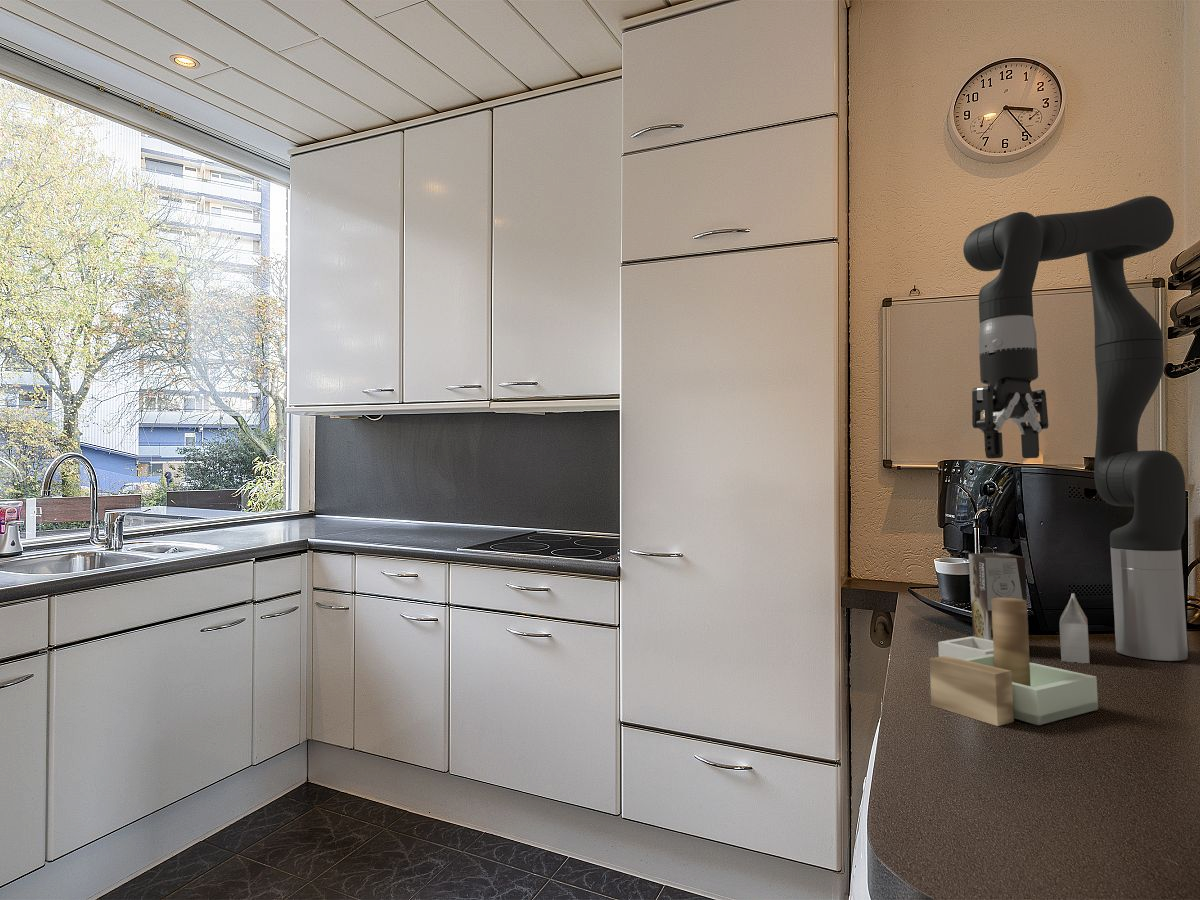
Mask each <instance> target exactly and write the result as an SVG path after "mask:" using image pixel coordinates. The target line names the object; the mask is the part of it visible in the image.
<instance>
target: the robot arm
mask: <svg viewBox="0 0 1200 900" xmlns="http://www.w3.org/2000/svg"><path fill="white" fill-rule="evenodd" d="M1173 215H1174V214H1173V212H1172V209H1171V208H1170V206H1169V205H1168V203H1167V202H1166V201H1165V200H1164V199H1162V198H1160V197H1158V196H1156V195H1155V196H1153V195H1144V196H1139V197H1138V196H1137V197H1135V198H1132V199H1128V200H1126V201H1124V202H1121V203H1119V204H1115V205H1113V206H1109V207H1105V208H1101V209H1092V210H1085V211H1077V212H1076V211H1075V212H1074V211H1072V212H1066V213H1065V212H1063V213H1053V214H1052V213H1051V214H1042V215H1036V216H1034V215H1033V214H1032V213H1029V212H1027V211H1018V212H1013V213H1010V214H1008V215H1006V216H1002V217H1001V218H998V219H995V220H994V221H991V222H989V223H985V224H984V225H980V226H978V227H976V228H974V230H973V231H971V232H970V233H969V234H968V236H967V237H966V238H965V241H964V243H963V256H964V259H965V261H966V262H967V264H968V265H969V266H971V267H972V268H974V269H975V270H977V271H979V272H980V271H981V272H994V271H999V273H998V275H997V276H995V278H993V279H992V280H991V281H990V282H989V281H988V282H987V283H986V284H985V285H983V286H982V287H981V288H980V290H979V291H978V292H979V293H978V313H979V314H978V317H979V318H978V319H979V331H978V352H979V354H978V355H979V376H980V380H979V381H980V383H982V384H984V385H985V386H978V387H974V388H972V391H971V396H972V397H971V403H972V405H971V409H972V410H971V411H972V412H971V416H972V417H971V418H972V419H971V424H972V427H973V428H974V429H979V430H980V432H981V433H983V436H984V437H983V438H984V452H985V458H987V459H1002V458H1003V456H1004V446H1003V432H1001V431H1002V429H1003V426H1004V424H1005V422H1006V421H1007V420H1009V419H1011V421H1012V422H1013V423H1014V424H1016V425H1017V426H1018V428H1019V431H1020V433H1021V434H1020V438H1021V439H1020V440H1021V456H1022V458H1023V459H1037V458H1039V457H1040V439H1039V434H1040V433H1041V432H1042V431H1043V430H1044V429H1048V428H1049V417H1048V403H1047V393H1046V390H1045V389H1039V390H1032V387H1031V382H1033V381H1035V380H1037V379H1038V377H1039V363H1038V344H1037V331H1036V325H1035V321H1034V308H1033V307H1034V306H1033V304H1034V303H1033V287H1034V284H1035V280H1036V276H1037V271H1038V268H1039V264H1040V262H1046V261H1047V262H1048V261H1056V260H1062V259H1066V258H1072V257H1075V256H1079V255H1083V254H1085V256H1086V261H1087V268H1088V274H1089V280H1090V288H1091V295H1092V305H1093V306H1092V307H1093V321H1094V322H1093V323H1094V360H1095V361H1094V362H1095V363H1094V364H1095V365H1094V366H1095V375H1096V387H1097V388H1096V389H1097V391H1096V394H1097V395H1096V397H1097V398H1096V400H1097V406H1096V409H1097V410H1096V411H1097V413H1096V414H1097V424H1096V440H1095V441H1096V442H1095V451H1094V452H1095V453H1094V463H1093V465H1094V469H1093V473H1094V474H1093V476H1094V477H1093V478H1094V483H1095V488H1096V490H1097V494H1098V495H1099V496H1100V498H1101V499H1102V501H1105V503H1107V504H1108V505H1111V506H1115V507H1133V509H1134V510H1133V515H1132V516H1133V517H1132V518H1131V520H1130V521H1129V522H1128V523H1127V524H1125V525H1123V526H1120V527H1116V528H1115V529H1113V530H1111V532H1110V534H1109V546H1110V547H1109V548H1110V558H1111V559H1110V561H1111V562H1110V565H1111V579H1112V580H1111V582H1112V595H1113V597H1112V598H1113V600H1112V601H1113V615H1114V634H1115V635H1114V637H1115V651H1116V652H1117V653H1119V654H1122V655H1124V656H1127V657H1132V658H1136V659H1137V658H1138V659H1144V660H1153V661H1166V662H1167V661H1168V662H1172V661H1173V662H1174V661H1175V662H1177V661H1184V660H1188V657H1189V656H1188V652H1189V651H1188V650H1189V649H1188V637H1187V619H1186V606H1185V605H1186V603H1185V589H1184V587H1185V586H1184V574H1183V558H1182V557H1183V555H1182V538H1183V535H1184V533H1185V528H1186V493H1187V491H1186V489H1187V488H1186V479H1185V478H1186V477H1185V472H1184V469H1183V465H1182V464H1181V462H1180V461H1179V460H1178V458H1177V457H1176V456H1175V455H1173V454H1172V453H1170V451H1169V452H1168V451H1166V450H1158V449H1157V450H1156V449H1155V450H1150V449H1149V450H1138V449H1139V448H1138V445H1139V444H1138V435H1139V432H1138V431H1139V425H1140V422H1141V421H1140V420H1141V418H1142V415H1143V413H1144V411H1145V409H1146V407H1147V406H1148V404H1149V402H1150V401H1151V399H1152V396H1153V395H1154V393H1155V392H1156V390H1157V388H1158V385H1159V384H1160V382H1161V379H1162V376H1163V373H1164V368H1165V366H1164V365H1165V362H1164V360H1165V359H1164V358H1165V357H1164V356H1165V355H1164V340H1163V339H1164V338H1163V332H1162V329H1161V327H1160V326H1159V323H1158V322H1157V320H1156V319H1155V317H1153V315H1152V314H1151V313H1150V312H1149V311H1148V310H1147V309H1146V308H1145V307H1144V305H1142V304H1141V303H1140V302H1139V300H1138V299H1137V298H1136V297H1135V296H1134V295H1133V293H1132V292H1131V290H1130V289H1129V287H1128V284H1127V280H1126V276H1125V268H1124V260H1126V259H1129V258H1133V257H1136V256H1140V255H1142V254H1146V253H1150V252H1152V251H1155V250H1157V249H1159V248H1161V247H1163V246H1164V245H1165V244H1167V242H1168V241H1169V240H1170V238H1171V237H1172V235H1173V233H1174V227H1175V220H1174V216H1173ZM986 385H987V386H986ZM982 412H983V414H982V417H983V418H984V419H983V418H982V419H981V413H982ZM1038 417H1039V420H1038Z"/></svg>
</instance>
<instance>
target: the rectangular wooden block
mask: <svg viewBox="0 0 1200 900" xmlns="http://www.w3.org/2000/svg"><path fill="white" fill-rule="evenodd" d="M928 659H929V677H930V678H929V680H930V681H929V682H930V702H931V706H932V707H935V708H938V709H941V710H944V711H947V712H951V713H953V714H958V715H961V716H964V717H968V718H971V719H973V720H977V721H980V722H983V723H987V724H989V725H993V726H996V727H999V726H1003V725H1007V724H1011V723H1014V722H1015V718H1014V713H1013V693H1012V672H1011V671H1010V670H1005V669H1001V668H997V667H992V666H988V665H984V664H979V663H975V662H971V661H967V660H962V659H958V658H954V657H949V656H940V657H939V656H936V657H935V656H934V657H930V658H928Z"/></svg>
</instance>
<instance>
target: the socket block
mask: <svg viewBox="0 0 1200 900" xmlns="http://www.w3.org/2000/svg"><path fill="white" fill-rule="evenodd" d="M937 644H938V645H937V646H938V657H940V656H949V657H954V658H958V659H966V658H971V657H977V656H982V655H988V654H994V648H993V641H992V640H987V639H982V638H977V637H973V635H972V636H966V637H960V638H954V639H953V638H952V639H946V640H942V641H938V642H937Z"/></svg>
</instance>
